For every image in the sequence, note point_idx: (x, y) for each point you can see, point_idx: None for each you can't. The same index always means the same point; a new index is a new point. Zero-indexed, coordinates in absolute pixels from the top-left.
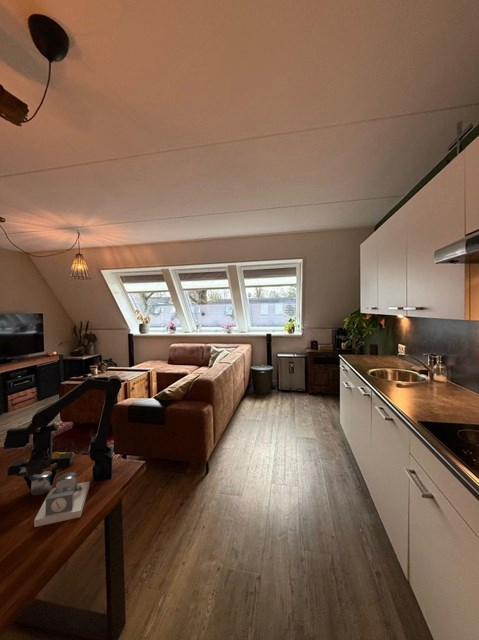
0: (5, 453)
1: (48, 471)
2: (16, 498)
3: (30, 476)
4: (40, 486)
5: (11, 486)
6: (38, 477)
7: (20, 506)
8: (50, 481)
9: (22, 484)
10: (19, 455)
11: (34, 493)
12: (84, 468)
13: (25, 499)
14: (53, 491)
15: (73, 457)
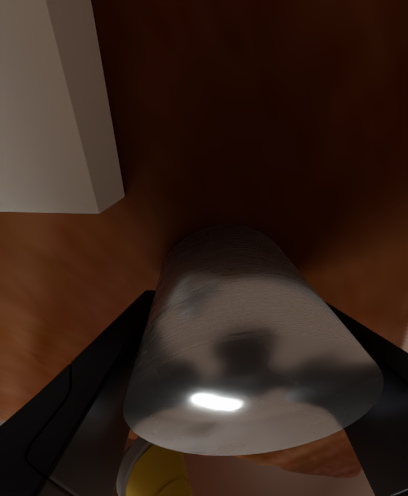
0: (360, 470)
1: (193, 452)
2: (375, 233)
3: (400, 436)
4: (227, 262)
5: None
6: (288, 399)
7: (368, 62)
8: (147, 321)
9: None
10: (328, 464)
11: (263, 237)
12: None
13: (319, 191)
14: (6, 103)
15: (118, 473)
